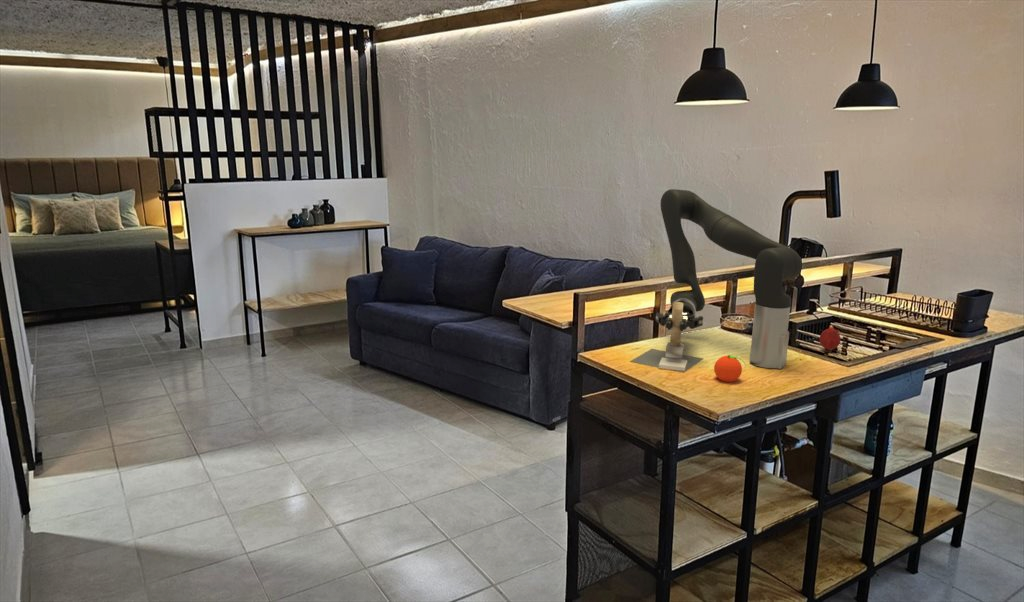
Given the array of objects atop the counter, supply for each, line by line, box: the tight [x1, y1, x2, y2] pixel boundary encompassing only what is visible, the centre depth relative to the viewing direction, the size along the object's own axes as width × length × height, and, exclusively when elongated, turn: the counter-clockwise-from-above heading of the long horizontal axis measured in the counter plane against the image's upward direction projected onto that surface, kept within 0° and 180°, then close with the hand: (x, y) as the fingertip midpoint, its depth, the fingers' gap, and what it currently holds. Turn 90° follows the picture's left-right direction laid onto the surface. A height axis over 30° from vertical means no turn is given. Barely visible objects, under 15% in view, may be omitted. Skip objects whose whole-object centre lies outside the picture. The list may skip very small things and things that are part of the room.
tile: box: [658, 357, 687, 373], centre depth 185 cm, size 7×1×7 cm
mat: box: [629, 348, 705, 374], centre depth 191 cm, size 16×16×1 cm
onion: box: [819, 324, 841, 351], centre depth 203 cm, size 6×6×8 cm
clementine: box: [713, 355, 746, 383], centre depth 174 cm, size 8×7×7 cm
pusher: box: [665, 302, 685, 359], centre depth 185 cm, size 4×4×15 cm
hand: (675, 326), depth 182 cm, fingers closed on pusher, 2 cm apart
